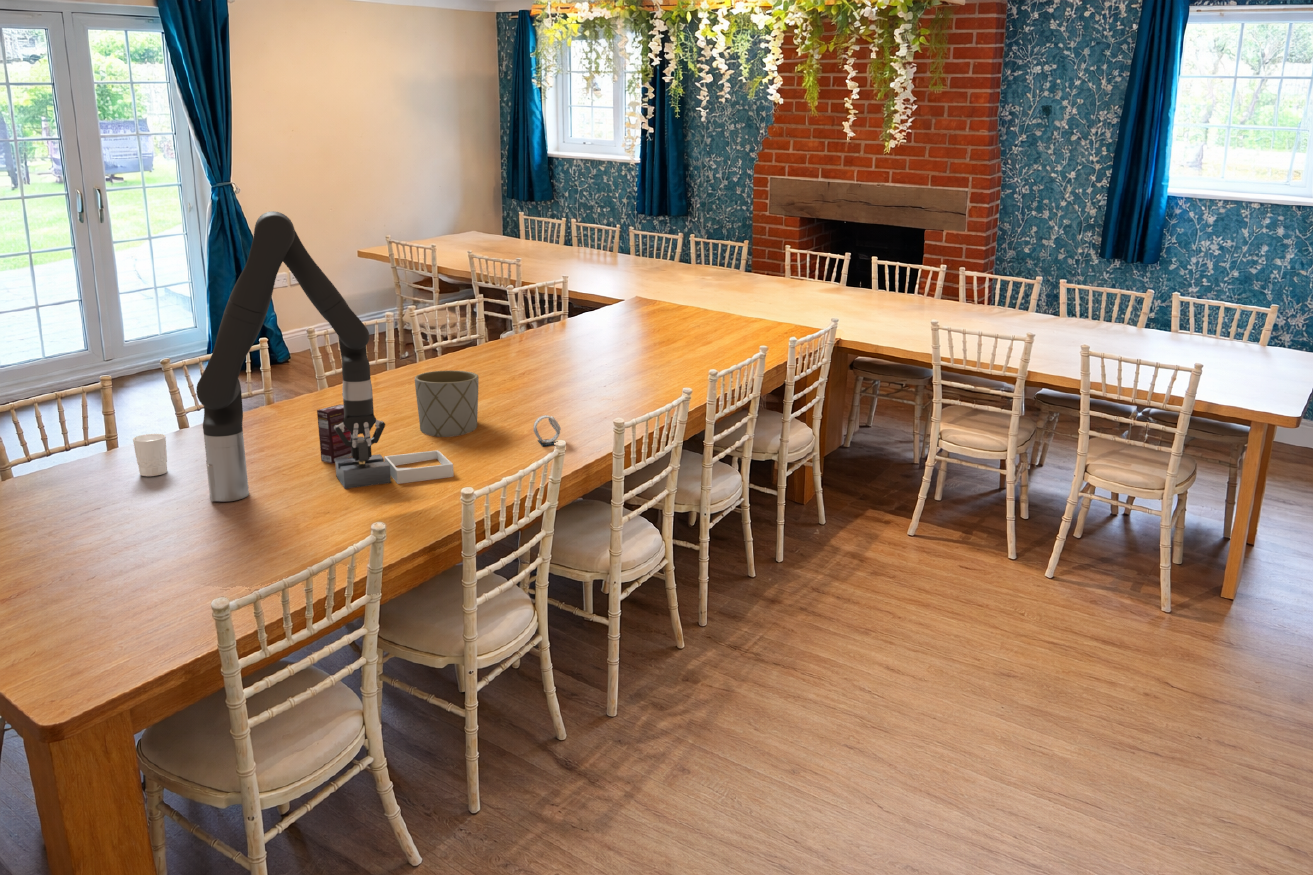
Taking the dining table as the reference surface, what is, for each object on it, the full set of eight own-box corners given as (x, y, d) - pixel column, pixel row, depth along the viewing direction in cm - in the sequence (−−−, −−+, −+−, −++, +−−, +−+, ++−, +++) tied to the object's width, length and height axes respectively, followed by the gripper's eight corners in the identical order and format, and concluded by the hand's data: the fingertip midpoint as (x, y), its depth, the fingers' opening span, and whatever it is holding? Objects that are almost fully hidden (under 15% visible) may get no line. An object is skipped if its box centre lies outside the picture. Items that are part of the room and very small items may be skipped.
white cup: (174, 472, 273) (170, 437, 270) (144, 479, 267) (139, 442, 265) (162, 467, 278) (158, 432, 275) (132, 472, 272) (128, 437, 270)
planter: (407, 445, 302) (404, 381, 297) (431, 430, 320) (428, 369, 315) (468, 449, 299) (465, 384, 294) (488, 433, 317) (486, 371, 312)
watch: (563, 453, 297) (562, 417, 294) (537, 455, 294) (536, 419, 291) (557, 448, 302) (557, 412, 299) (531, 450, 299) (531, 415, 296)
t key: (369, 479, 267) (367, 442, 264) (360, 481, 266) (358, 443, 263) (365, 473, 272) (362, 436, 269) (356, 474, 271) (353, 437, 268)
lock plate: (344, 488, 261) (343, 471, 260) (336, 476, 272) (335, 459, 270) (390, 482, 267) (389, 465, 265) (381, 470, 277) (379, 454, 276)
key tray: (397, 483, 266) (396, 470, 265) (384, 468, 279) (384, 456, 278) (453, 476, 273) (453, 464, 272) (438, 462, 286) (438, 450, 285)
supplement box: (343, 457, 290) (339, 403, 285) (355, 459, 287) (351, 405, 283) (320, 464, 282) (315, 409, 278) (332, 466, 280) (328, 411, 276)
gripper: (333, 401, 257) (337, 466, 261) (387, 396, 263) (391, 460, 267) (328, 395, 263) (332, 459, 268) (381, 391, 269) (385, 453, 274)
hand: (362, 459), depth 268 cm, fingers closed on t key, 2 cm apart
